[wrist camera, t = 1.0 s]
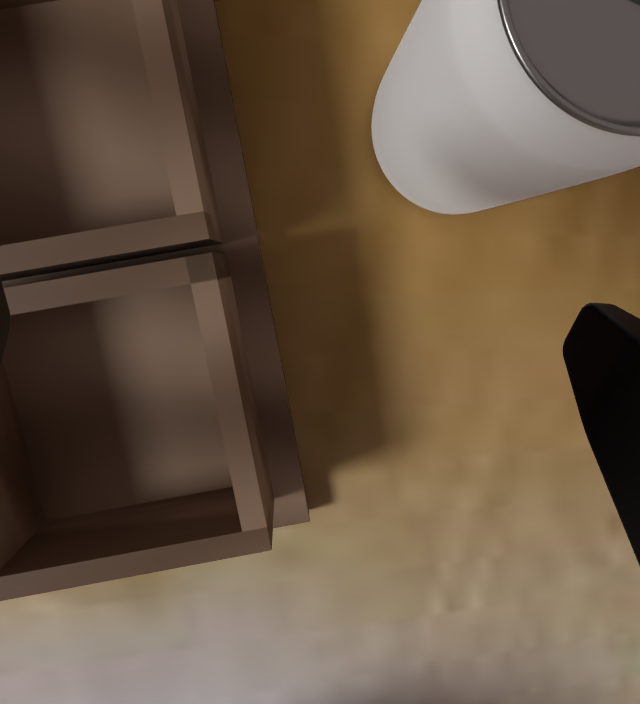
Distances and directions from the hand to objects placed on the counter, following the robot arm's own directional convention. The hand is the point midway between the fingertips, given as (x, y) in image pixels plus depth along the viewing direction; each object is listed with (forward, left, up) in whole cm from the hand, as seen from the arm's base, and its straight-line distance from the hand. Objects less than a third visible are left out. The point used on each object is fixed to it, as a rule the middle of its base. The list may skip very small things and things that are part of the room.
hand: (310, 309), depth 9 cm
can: (+5, -7, -13) cm, 16 cm away
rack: (+2, +7, -13) cm, 15 cm away
